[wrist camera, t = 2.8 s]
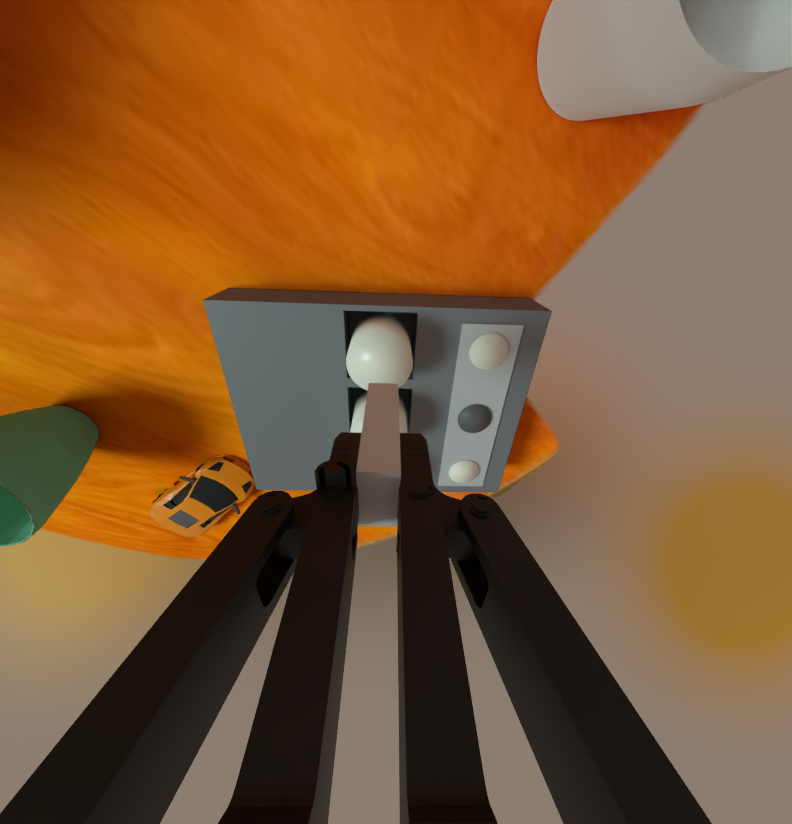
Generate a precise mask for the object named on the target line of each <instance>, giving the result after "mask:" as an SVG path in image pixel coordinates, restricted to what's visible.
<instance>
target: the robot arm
mask: <svg viewBox="0 0 792 824" xmlns="http://www.w3.org/2000/svg"><path fill="white" fill-rule="evenodd" d="M315 480H316V487H317V489H316V490H315V491H313V492H312V493H310V494H307V495H304V496H299V497H295V498H292V497H291V496H290V495H289V494H288V493H286V492H284V491H271V492H267V493H265V494H263V495H261V496H259V497H258V498H257V499H256V500H254V501H253V503H252V504H251V505H250V506H249V507H248V509H247V510H246V511H245V512H244V514H243V515H242V516H241V517H240V519H239V520H238V521H237V522H236V524H235V525H234V526H233V527H232V528H231V530H230V531H229V532H228V533H227V535H226V536H225V537H224V538H223V540H222V541H221V542H220V543H219V545H218V546H217V547H216V548H215V549H214V551H213V552H212V553H211V554H210V556H209V557H208V558H207V559H206V561H205V562H204V563H203V564H202V566H201V567H200V568H199V569H198V570H197V572H196V573H195V574H194V575H193V577H192V578H191V579H190V580H189V582H188V583H187V584H186V585H185V587H184V588H183V589H182V590H181V591H180V593H179V594H178V595H177V596H176V598H175V599H174V600H173V601H172V602H171V604H170V605H169V607H167V609H166V610H165V611H164V613H163V614H162V615H161V616H160V617H159V619H158V620H157V621H156V622H155V623H154V625H153V626H152V627H151V629H150V630H149V631H148V632H147V633H146V635H145V636H144V637H143V638H142V640H141V641H140V642H139V643H138V645H137V646H136V647H135V648H134V650H133V651H132V652H131V653H130V654H129V656H128V657H127V658H126V659H125V661H124V662H123V663H122V664H121V665H120V667H119V668H118V669H117V670H116V672H115V673H114V674H113V675H112V677H111V678H110V679H109V680H108V681H107V683H106V684H105V685H104V687H103V688H102V689H101V690H100V691H99V693H98V694H97V695H96V696H95V698H94V699H93V700H92V701H91V702H90V704H89V705H88V706H87V708H86V709H85V710H84V711H83V712H82V714H81V715H80V716H79V717H78V718H77V720H76V721H75V722H74V724H73V725H72V726H71V727H70V728H69V730H68V731H67V732H66V733H65V735H64V736H63V737H62V738H61V739H60V741H59V742H58V743H57V745H56V746H55V747H54V748H53V749H52V751H51V752H50V753H49V754H48V756H47V757H46V758H45V759H44V761H43V762H42V763H41V764H40V765H39V767H38V768H37V769H36V771H35V772H34V773H33V774H32V775H31V777H30V778H29V779H28V780H27V781H26V783H25V784H24V785H23V786H22V788H21V789H20V790H19V791H18V793H17V794H16V795H15V796H14V798H13V799H12V800H11V801H10V802H9V804H8V805H7V806H6V807H5V809H4V810H3V811H2V812H1V814H0V824H160V822H161V820H162V818H163V816H164V815H165V813H166V811H167V809H168V807H169V805H170V803H171V802H172V800H173V798H174V796H175V794H176V792H177V790H178V788H179V787H180V785H181V783H182V781H183V779H184V777H185V775H186V773H187V771H188V769H189V768H190V766H191V764H192V762H193V760H194V758H195V756H196V755H197V753H198V751H199V749H200V747H201V745H202V743H203V741H204V739H205V738H206V736H207V734H208V732H209V730H210V728H211V726H212V725H213V723H214V721H215V719H216V717H217V715H218V713H219V711H220V710H221V708H222V706H223V704H224V702H225V700H226V698H227V696H228V695H229V693H230V691H231V689H232V687H233V685H234V683H235V681H236V680H237V678H238V676H239V674H240V672H241V670H242V668H243V666H244V665H245V663H246V660H247V659H248V657H249V655H250V653H251V651H252V650H253V648H254V646H255V644H256V642H257V640H258V638H259V636H260V635H261V633H262V631H263V629H264V627H265V625H266V623H267V621H268V619H269V617H270V616H271V613H272V612H273V610H274V608H275V606H276V604H277V603H278V601H279V599H280V597H281V595H282V593H283V591H284V589H285V588H286V586H287V584H288V582H289V580H290V578H291V576H292V574H293V573H294V575H293V579H292V583H291V586H290V590H289V594H288V597H287V601H286V604H285V608H284V612H283V615H282V619H281V623H280V627H279V630H278V634H277V637H276V641H275V645H274V648H273V652H272V655H271V659H270V663H269V666H268V670H267V674H266V678H265V681H264V685H263V689H262V692H261V696H260V699H259V703H258V707H257V710H256V714H255V718H254V721H253V725H252V729H251V732H250V736H249V740H248V743H247V747H246V751H245V755H244V758H243V761H242V765H241V769H240V772H239V776H238V780H237V783H236V787H235V790H234V793H233V796H232V799H231V801H230V804H229V806H228V808H227V810H226V811H225V813H224V815H223V816H222V818H221V820H220V821H219V823H218V824H328V815H329V805H330V795H331V786H332V776H333V767H334V757H335V748H336V739H337V729H338V719H339V710H340V700H341V691H342V681H343V672H344V663H345V653H346V644H347V634H348V625H349V614H350V606H351V596H352V587H353V577H354V567H355V558H356V549H357V539H358V538H357V527H358V526H398V531H397V548H396V549H397V550H396V552H397V582H398V584H397V586H398V674H399V675H398V676H399V677H398V678H399V679H398V680H399V769H400V770H399V776H400V824H497V821H496V818H495V816H494V813H493V811H492V809H491V806H490V803H489V800H488V796H487V791H486V786H485V780H484V774H483V769H482V762H481V756H480V750H479V744H478V737H477V731H476V725H475V718H474V712H473V706H472V700H471V694H470V687H469V681H468V676H467V669H466V664H465V656H464V651H463V644H462V638H461V632H460V625H459V619H458V613H457V607H456V601H455V594H454V589H453V582H452V576H451V570H450V563H449V558H451V561H452V564H453V566H454V568H455V570H456V573H457V575H458V577H459V580H460V582H461V585H462V587H463V589H464V592H465V594H466V596H467V599H468V601H469V603H470V606H471V608H472V610H473V613H474V615H475V617H476V620H477V622H478V624H479V627H480V629H481V631H482V634H483V636H484V638H485V641H486V643H487V645H488V648H489V650H490V652H491V655H492V657H493V659H494V662H495V664H496V667H497V669H498V671H499V673H500V676H501V678H502V681H503V683H504V685H505V688H506V690H507V692H508V695H509V697H510V699H511V702H512V704H513V706H514V709H515V711H516V713H517V716H518V718H519V720H520V723H521V725H522V727H523V729H524V732H525V734H526V737H527V739H528V741H529V744H530V746H531V748H532V751H533V753H534V755H535V757H536V760H537V762H538V765H539V767H540V770H541V772H542V774H543V777H544V779H545V781H546V783H547V786H548V788H549V791H550V793H551V795H552V798H553V800H554V802H555V805H556V807H557V809H558V812H559V814H560V816H561V819H562V821H563V823H564V824H712V823H711V822H710V820H709V819H708V818H707V816H706V814H705V813H704V811H703V810H702V808H701V807H700V805H699V804H698V803H697V801H696V799H695V798H694V797H693V795H692V794H691V792H690V791H689V789H688V788H687V786H686V785H685V783H684V782H683V780H682V779H681V777H680V776H679V774H678V773H677V771H676V770H675V768H674V767H673V765H672V764H671V762H670V761H669V760H668V758H667V756H666V755H665V753H664V752H663V750H662V749H661V747H660V746H659V744H658V743H657V741H656V740H655V738H654V737H653V735H652V734H651V732H650V731H649V729H648V728H647V726H646V725H645V723H644V722H643V720H642V719H641V717H640V716H639V714H638V713H637V712H636V710H635V708H634V707H633V706H632V704H631V702H630V701H629V700H628V698H627V696H626V695H625V693H624V692H623V691H622V689H621V688H620V686H619V685H618V683H617V682H616V680H615V679H614V677H613V676H612V674H611V673H610V671H609V670H608V668H607V667H606V665H605V664H604V662H603V661H602V659H601V658H600V656H599V655H598V653H597V652H596V650H595V649H594V647H593V646H592V644H591V643H590V641H589V640H588V638H587V637H586V635H585V634H584V632H583V631H582V629H581V628H580V626H579V625H578V623H577V622H576V620H575V619H574V617H573V616H572V614H571V613H570V611H569V610H568V608H567V607H566V605H565V604H564V602H563V601H562V599H561V598H560V596H559V595H558V593H557V592H556V590H555V589H554V587H553V586H552V584H551V583H550V581H549V580H548V578H547V577H546V575H545V574H544V572H543V571H542V569H541V568H540V567H539V565H538V564H537V562H536V561H535V559H534V558H533V556H532V555H531V553H530V552H529V550H528V549H527V547H526V546H525V544H524V543H523V541H522V540H521V538H520V537H519V535H518V534H517V532H516V531H515V529H514V528H513V526H512V525H511V523H510V522H509V520H508V519H507V517H506V516H505V514H504V513H503V511H502V510H501V508H500V507H499V506H498V504H497V503H496V502H495V501H494V500H493V499H491V498H490V497H488V496H486V495H482V494H469V495H467V496H465V497H464V498H463V499H462V500H459V499H455V498H452V497H449V496H446V495H444V494H443V493H441V492H440V491H439V490H438V489H437V488H436V486H435V485H434V482H433V477H432V471H431V464H430V458H429V451H428V445H427V440H426V439H425V438H424V436H423V435H422V434H421V433H400V426H399V396H398V384H391V383H369V385H368V392H367V399H366V406H365V413H364V419H363V426H362V433H353V432H341V433H340V434H339V435H338V436H337V437H336V438H335V439H334V443H333V447H332V451H331V456H330V459H329V460H328V461H325V462H323V463H322V464H320V465H319V466H318V467H317V468H316V470H315Z"/></svg>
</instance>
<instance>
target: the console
mask: <svg viewBox="0 0 792 824" xmlns="http://www.w3.org/2000/svg"><path fill="white" fill-rule="evenodd" d="M203 302H204V305H205V309H206V312H207V316H208V319H209V323H210V326H211V330H212V334H213V337H214V341H215V344H216V348H217V351H218V355H219V358H220V362H221V365H222V369H223V372H224V376H225V379H226V383H227V387H228V390H229V394H230V397H231V401H232V404H233V408H234V411H235V415H236V418H237V422H238V425H239V429H240V433H241V436H242V440H243V443H244V447H245V450H246V454H247V457H248V461H249V464H250V468H251V471H252V475H253V478H254V482H255V486H256V489H257V490H316V489H317V487H316V480H315V470H316V468H317V467H318V466H319V465H320V464H322V463H323V462H325V461H328V460H329V459H330V456H331V451H332V447H333V443H334V439H335V438H336V437H337V436H338V435H339V434H340V433H341V432H350V430H351V425H352V419H353V413H354V407H355V402H356V400H357V398H358V396H359V395H360V394H361V393H362V392H364V391H365V389H363V388H361V387H360V386H358V385H357V384H356V383H355V382H354V381H353V380H352V378H351V377H350V375H349V373H348V370H347V366H346V357H347V352H348V349H349V346H350V342H351V339H352V335H353V332H354V330H355V328H356V326H357V325H358V323H359V322H360V321H361V320H363V319H364V318H366V317H368V316H370V315H373V314H387V315H391V316H393V317H395V318H397V319H398V320H399V321H400V322H401V323H402V324H403V325H404V326H405V328H406V329H407V332H408V335H409V340H410V346H411V352H412V358H413V367H412V371H411V374H410V376H409V378H408V379H407V381H406V382H405V383H404V384H403V385H402V386H400V387H399V388H398V394H399V395H400V396H401V397H402V398H403V400H404V403H405V409H406V421H407V432H408V433H421V434H422V435H423V436H424V438H425V439H426V440H427V445H428V451H429V458H430V464H431V471H432V477H433V482H434V485H435V486H436V488H437V489H438V490H439V491H440V492H498V490H499V487H500V483H501V480H502V476H503V473H504V470H505V466H506V463H507V460H508V456H509V453H510V450H511V446H512V443H513V440H514V436H515V433H516V430H517V426H518V423H519V419H520V416H521V413H522V409H523V406H524V403H525V399H526V396H527V393H528V389H529V385H530V383H531V379H532V375H533V373H534V369H535V366H536V362H537V359H538V356H539V352H540V349H541V346H542V342H543V339H544V336H545V332H546V329H547V326H548V322H549V319H550V316H551V312H552V311H550V310H549V309H547V308H545V307H543V306H542V305H540V304H538V303H537V302H535V301H534V300H532V299H530V298H508V297H479V296H449V295H420V294H391V293H361V292H332V291H303V290H273V289H244V288H227V289H225V290H223V291H221V292H219V293H217V294H215V295H213V296H210V297H208V298H206V299H204V300H203Z"/></svg>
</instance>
